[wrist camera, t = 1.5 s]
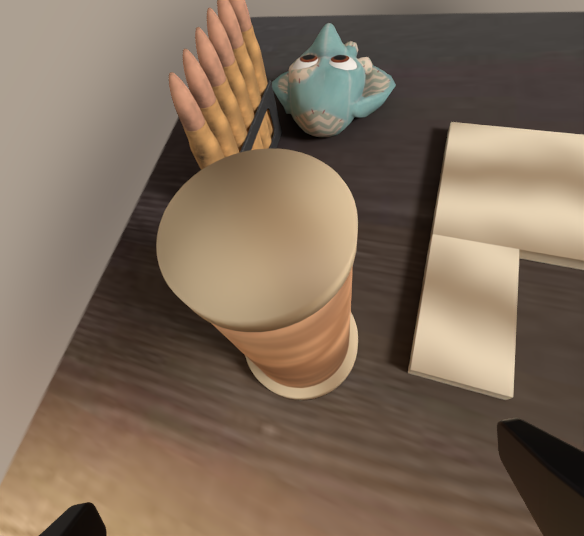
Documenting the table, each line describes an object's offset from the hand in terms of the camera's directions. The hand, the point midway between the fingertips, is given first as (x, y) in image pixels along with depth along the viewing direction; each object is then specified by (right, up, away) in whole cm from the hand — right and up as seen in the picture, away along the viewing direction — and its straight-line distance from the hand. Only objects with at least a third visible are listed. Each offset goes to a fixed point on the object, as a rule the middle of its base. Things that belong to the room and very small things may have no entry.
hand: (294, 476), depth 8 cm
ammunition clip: (-3, +12, +21) cm, 24 cm away
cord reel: (+1, 0, +14) cm, 14 cm away
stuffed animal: (+4, +19, +24) cm, 31 cm away
